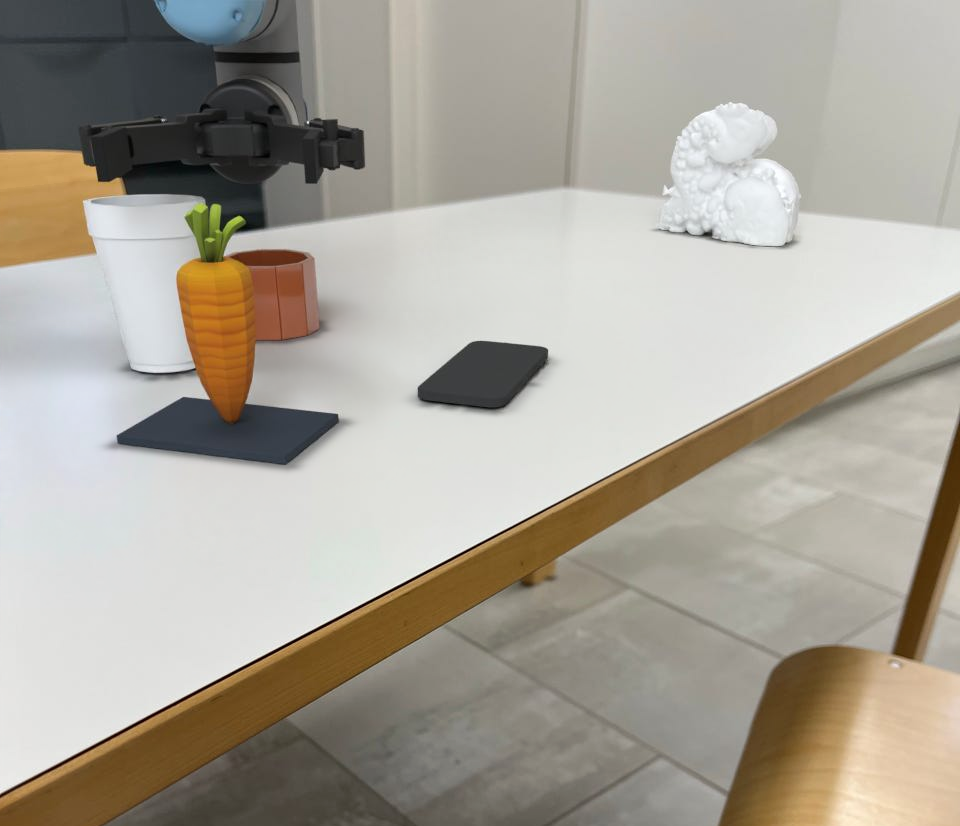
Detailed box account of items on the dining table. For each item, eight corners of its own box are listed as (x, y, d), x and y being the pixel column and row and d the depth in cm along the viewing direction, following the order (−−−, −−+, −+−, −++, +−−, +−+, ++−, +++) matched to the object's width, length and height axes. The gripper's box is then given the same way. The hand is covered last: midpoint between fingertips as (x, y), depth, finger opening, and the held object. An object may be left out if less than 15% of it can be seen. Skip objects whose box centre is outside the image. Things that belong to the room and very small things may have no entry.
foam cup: (91, 363, 88) (61, 199, 82) (185, 345, 94) (164, 192, 88) (148, 383, 82) (120, 209, 76) (245, 363, 88) (227, 200, 82)
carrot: (230, 408, 77) (203, 192, 69) (281, 420, 75) (259, 199, 67) (181, 427, 73) (148, 202, 65) (234, 440, 71) (205, 209, 63)
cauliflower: (837, 178, 126) (712, 76, 126) (731, 311, 137) (617, 218, 138) (851, 169, 141) (740, 78, 141) (754, 289, 153) (652, 205, 153)
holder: (212, 336, 96) (203, 264, 93) (255, 314, 103) (248, 246, 100) (294, 343, 94) (287, 270, 91) (332, 320, 101) (327, 251, 98)
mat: (117, 443, 72) (116, 435, 72) (184, 404, 79) (183, 396, 79) (285, 464, 69) (284, 456, 69) (338, 421, 76) (338, 413, 76)
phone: (412, 390, 80) (472, 339, 92) (412, 400, 80) (472, 348, 92) (502, 400, 78) (552, 347, 90) (502, 411, 78) (551, 356, 91)
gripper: (399, 179, 88) (397, 222, 70) (104, 177, 87) (24, 220, 68) (397, 80, 84) (393, 98, 66) (88, 76, 83) (-2, 93, 65)
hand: (205, 160), depth 67 cm, fingers open, 13 cm apart
